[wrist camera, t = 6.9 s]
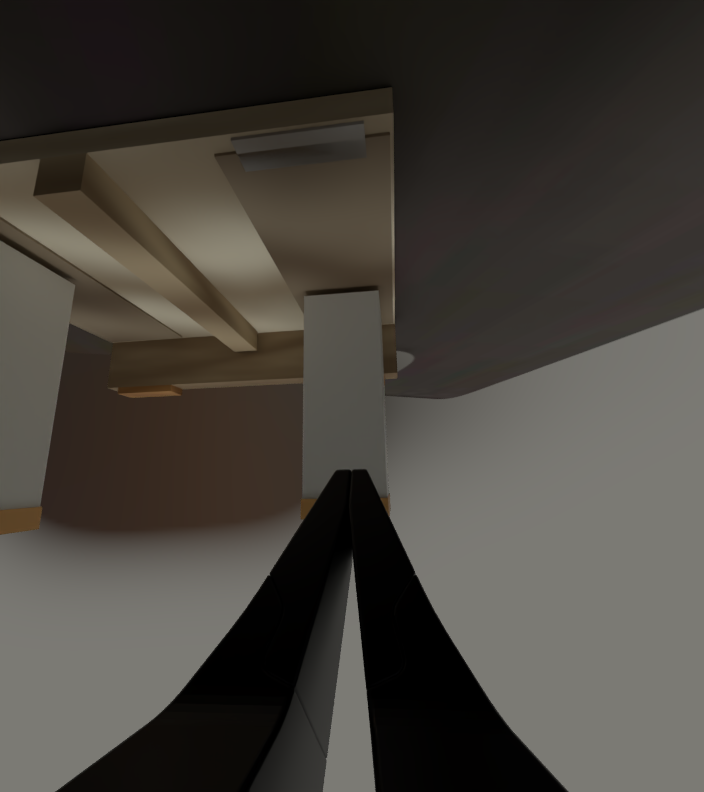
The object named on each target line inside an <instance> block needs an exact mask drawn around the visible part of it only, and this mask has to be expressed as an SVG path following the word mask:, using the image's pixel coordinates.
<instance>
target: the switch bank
mask: <svg viewBox="0 0 704 792" xmlns="http://www.w3.org/2000/svg"><path fill="white" fill-rule="evenodd" d="M0 241H2V242H4V243H5V244H7V245H9V246H10V247H12V248H14V249H15V250H17V251H19V252H20V253H22V254H24V255H25V256H27V257H29V258H30V259H32V260H34V261H36V262H37V263H39V264H41V265H42V266H44V267H46V268H47V269H49V270H51V271H52V272H54V273H56V274H57V275H59V276H61V277H62V278H64V279H66V280H67V281H69V282H71V283H72V284H74V285H75V290H74V296H73V303H72V309H71V315H70V322H69V323H71V324H73V325H75V326H77V327H79V328H81V329H83V330H85V331H88V332H90V333H92V334H94V335H96V336H98V337H100V338H103V339H105V340H107V341H109V342H113V348H112V356H111V364H110V372H109V379H108V388H109V389H112V390H115V391H118V394H120V395H124V396H127V397H131V398H136V397H156V396H176V395H182V389H196V388H214V387H215V388H216V387H235V386H256V385H275V384H295V383H303V369H304V296H314V295H326V294H339V293H352V292H365V291H378V290H379V301H380V312H381V323H382V343H383V367H384V385H385V379H393V378H397V358H396V338H395V272H394V111H393V93H392V87H389V88H382V89H375V90H367V91H360V92H353V93H346V94H338V95H331V96H324V97H317V98H310V99H302V100H295V101H288V102H281V103H273V104H266V105H259V106H252V107H244V108H237V109H230V110H223V111H215V112H208V113H201V114H194V115H186V116H179V117H172V118H165V119H158V120H150V121H143V122H136V123H129V124H121V125H114V126H107V127H100V128H92V129H85V130H78V131H71V132H63V133H56V134H49V135H42V136H34V137H27V138H20V139H13V140H6V141H0Z"/></svg>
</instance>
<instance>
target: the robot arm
mask: <svg viewBox="0 0 704 792" xmlns="http://www.w3.org/2000/svg"><path fill="white" fill-rule="evenodd" d="M352 559H353V562H354V572H355V582H356V592H357V602H358V611H359V622H360V631H361V640H362V650H363V660H364V671H365V680H366V689H367V700H368V710H369V721H370V732H371V743H372V755H373V767H374V778H375V788H376V789H375V790H376V792H568V791H567V790H566V789H565V788H564V787H563V785H562V784H561V783H560V782H559V781H558V780H557V779H556V778H555V777H554V776H553V775H552V773H551V772H550V771H549V770H548V769H547V768H546V767H545V766H544V765H543V764H542V763H541V761H540V760H539V759H538V758H537V757H536V756H535V755H534V754H533V753H532V752H531V751H530V750H529V749H528V747H527V746H526V745H525V744H524V743H523V742H522V741H521V740H520V739H519V738H518V736H517V735H516V734H515V733H514V732H513V731H512V730H511V729H510V727H509V726H508V725H507V724H506V722H505V721H504V720H503V718H502V717H501V716H500V715H499V713H498V712H497V710H496V709H495V707H494V706H493V704H492V703H491V701H490V700H489V699H488V697H487V695H486V694H485V692H484V691H483V689H482V688H481V686H480V684H479V683H478V681H477V680H476V678H475V677H474V675H473V673H472V672H471V670H470V668H469V667H468V665H467V664H466V662H465V660H464V659H463V657H462V656H461V654H460V652H459V651H458V649H457V648H456V646H455V645H454V643H453V642H452V640H451V638H450V636H449V635H448V633H447V632H446V630H445V628H444V626H443V625H442V623H441V621H440V619H439V618H438V616H437V614H436V613H435V611H434V609H433V607H432V605H431V603H430V601H429V599H428V597H427V595H426V593H425V591H424V589H423V587H422V585H421V583H420V581H419V579H418V577H417V575H415V571H414V569H413V566H412V564H411V562H410V560H409V558H408V556H407V554H406V551H405V549H404V547H403V545H402V543H401V541H400V539H399V537H398V534H397V532H396V530H395V528H394V526H393V524H392V522H391V520H390V517H389V515H388V513H387V511H386V509H385V507H384V505H383V503H382V500H381V498H380V496H379V494H378V492H377V490H376V488H375V485H374V483H373V481H372V479H371V477H370V475H369V473H368V471H367V470H366V469H353V470H352V471H351V470H349V469H339V470H336V471H335V472H334V474H333V475H332V477H331V478H330V480H329V481H328V483H327V484H326V486H325V488H324V489H323V491H322V492H321V494H320V495H319V497H318V498H317V500H316V502H315V503H314V505H313V506H312V508H311V509H310V511H309V512H308V514H307V516H306V517H305V519H304V520H303V522H302V523H301V525H300V526H299V528H298V530H297V531H296V533H295V534H294V536H293V537H292V539H291V541H290V542H289V544H288V545H287V547H286V549H285V550H284V551H283V553H282V555H281V556H280V558H279V559H278V561H277V562H276V564H275V565H274V567H273V569H272V570H271V572H270V576H267V578H266V579H265V581H264V583H263V584H262V586H261V587H260V589H259V590H258V592H257V593H256V595H255V596H254V597H253V599H252V600H251V602H250V604H249V605H248V606H247V608H246V609H245V611H244V612H243V613H242V615H241V616H240V617H239V619H238V620H237V621H236V622H235V624H234V625H233V626H232V628H231V629H230V630H229V632H228V633H227V634H226V635H225V637H224V638H223V639H222V641H221V642H220V643H219V644H218V646H217V647H216V648H215V649H214V651H213V652H212V653H211V654H210V656H209V657H208V658H207V659H206V661H205V662H204V663H203V665H202V666H201V667H200V668H199V669H198V671H197V672H196V673H195V675H194V676H193V677H192V678H191V680H190V681H189V682H188V683H187V685H186V686H185V687H184V688H183V689H182V691H181V692H180V693H179V694H178V695H177V696H176V698H175V699H174V700H173V701H172V702H171V703H170V704H169V705H168V706H167V707H166V708H165V709H164V710H163V711H162V712H161V713H160V714H158V715H157V716H156V717H155V718H154V719H153V720H151V721H150V722H149V723H148V724H146V725H145V726H144V727H142V728H141V729H139V730H138V731H137V732H135V733H134V734H133V735H131V736H130V737H129V738H127V739H126V740H125V741H123V742H122V743H121V744H119V745H118V746H117V747H115V748H114V749H112V750H111V751H110V752H108V753H107V754H106V755H104V756H103V757H102V758H100V759H99V760H98V761H96V762H95V763H94V764H92V765H91V766H89V767H88V768H87V769H85V770H84V771H83V772H81V773H80V774H79V775H77V776H76V777H75V778H73V779H72V780H71V781H69V782H68V783H66V784H65V785H64V786H63V787H61V788H60V789H58V790H57V791H56V792H323V784H324V776H325V769H326V758H327V753H328V752H327V751H328V745H329V737H330V729H331V722H332V714H333V706H334V698H335V690H336V683H337V675H338V668H339V660H340V652H341V644H342V637H343V629H344V621H345V613H346V606H347V598H348V590H349V582H350V575H351V567H352Z"/></svg>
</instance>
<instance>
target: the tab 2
mask: <svg viewBox="0 0 704 792" xmlns="http://www.w3.org/2000/svg"><path fill="white" fill-rule="evenodd" d="M385 416H386V415H385V391H384V367H383V343H382V323H381V312H380V301H379V290H378V291H365V292H352V293H339V294H326V295H314V296H304V369H303V490H302V491H303V494H302V496H303V498H302V499H301V519H305V517H306V516H307V514H308V512H309V511H310V509H311V508H312V506H313V505H314V503H315V502H316V500H317V498H318V497H319V495H320V494H321V492H322V491H323V489H324V488H325V486H326V484H327V483H328V481H329V480H330V478H331V477H332V475H333V474H334V472H335V471H336V470H339V469H349V470H351V471H352V470H353V469H366V470H367V471H368V473H369V475H370V477H371V479H372V481H373V483H374V485H375V488H376V490H377V492H378V494H379V496H380V498H381V500H382V503H383V505H384V507H385V509H386V511H387V513H388V515H389V516H390V493H389V487H388V463H387V441H386V440H387V439H386V417H385Z"/></svg>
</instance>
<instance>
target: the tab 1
mask: <svg viewBox="0 0 704 792" xmlns="http://www.w3.org/2000/svg"><path fill="white" fill-rule="evenodd" d="M74 290H75V285H74V284H72V283H71V282H69V281H67V280H66V279H64V278H62V277H61V276H59V275H57V274H56V273H54V272H52V271H51V270H49V269H47V268H46V267H44V266H42V265H41V264H39V263H37V262H36V261H34V260H32V259H30V258H29V257H27V256H25V255H24V254H22V253H20V252H19V251H17V250H15V249H14V248H12V247H10V246H9V245H7V244H5V243H4V242H2V241H0V535H1V534H8V533H15V532H22V531H28V530H35V529H39V525H40V518H41V512H42V507H40V503H41V497H42V491H43V484H44V478H45V471H46V466H47V458H48V453H49V447H50V440H51V434H52V428H53V422H54V415H55V409H56V403H57V396H58V390H59V384H60V378H61V372H62V365H63V359H64V353H65V347H66V340H67V334H68V328H69V322H70V315H71V309H72V303H73V296H74Z"/></svg>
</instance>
